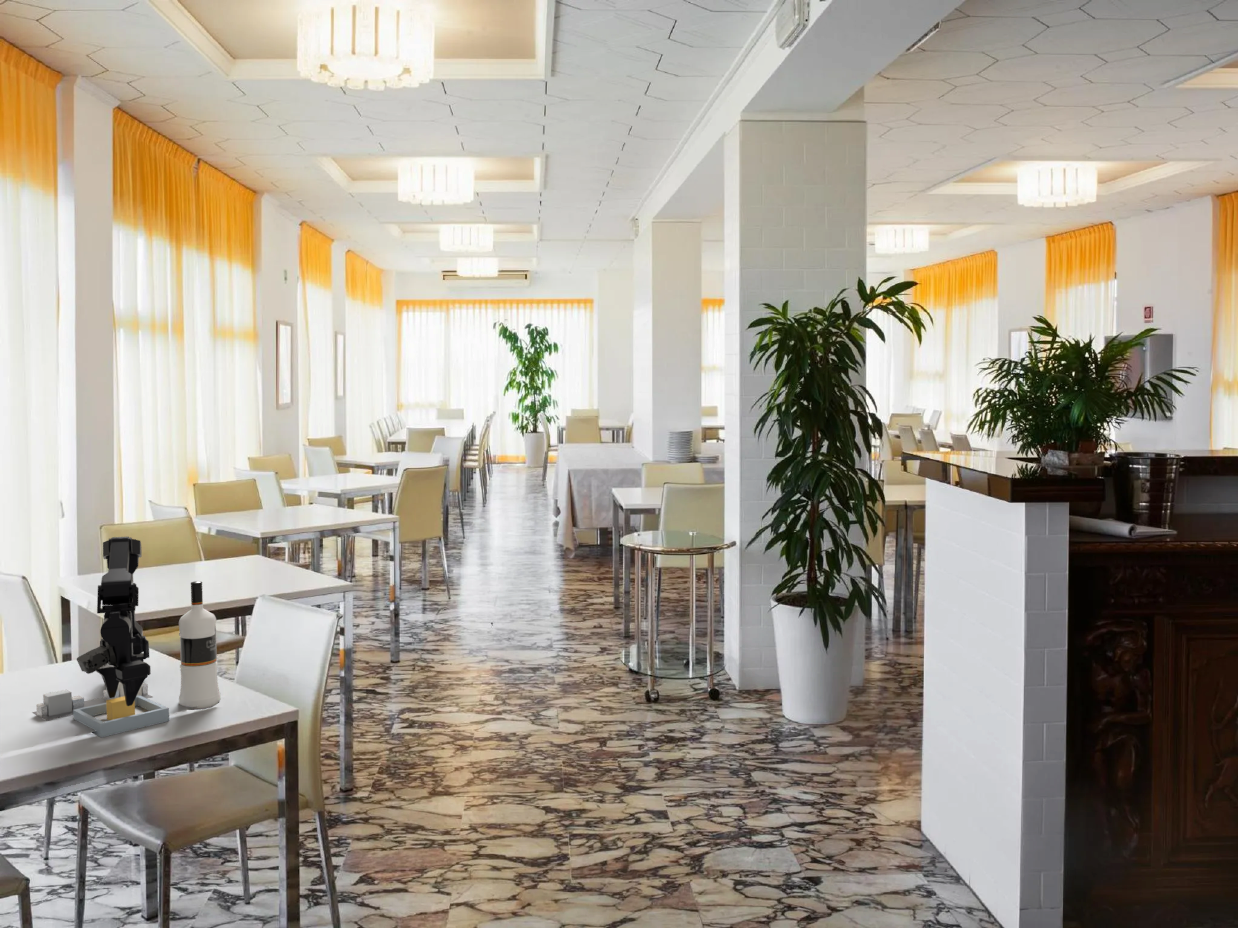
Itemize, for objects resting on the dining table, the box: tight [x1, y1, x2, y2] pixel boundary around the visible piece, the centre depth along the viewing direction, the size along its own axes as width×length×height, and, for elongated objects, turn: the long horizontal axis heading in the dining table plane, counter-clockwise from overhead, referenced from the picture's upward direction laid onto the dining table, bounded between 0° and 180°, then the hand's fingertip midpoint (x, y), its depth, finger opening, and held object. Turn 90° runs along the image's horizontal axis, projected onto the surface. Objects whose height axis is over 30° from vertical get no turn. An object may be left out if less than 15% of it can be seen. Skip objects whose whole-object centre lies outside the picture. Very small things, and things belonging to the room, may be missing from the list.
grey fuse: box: [42, 689, 73, 716], centre depth 235 cm, size 5×3×4 cm, turn 139°
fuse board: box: [31, 682, 154, 721], centre depth 241 cm, size 24×9×4 cm, turn 139°
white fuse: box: [117, 682, 142, 697], centre depth 247 cm, size 5×3×4 cm, turn 139°
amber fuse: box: [106, 696, 136, 721], centre depth 231 cm, size 5×3×4 cm, turn 139°
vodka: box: [178, 580, 221, 711], centre depth 243 cm, size 9×9×30 cm
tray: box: [72, 695, 170, 738], centre depth 231 cm, size 15×15×3 cm
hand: (120, 701), depth 231 cm, fingers open, 9 cm apart
